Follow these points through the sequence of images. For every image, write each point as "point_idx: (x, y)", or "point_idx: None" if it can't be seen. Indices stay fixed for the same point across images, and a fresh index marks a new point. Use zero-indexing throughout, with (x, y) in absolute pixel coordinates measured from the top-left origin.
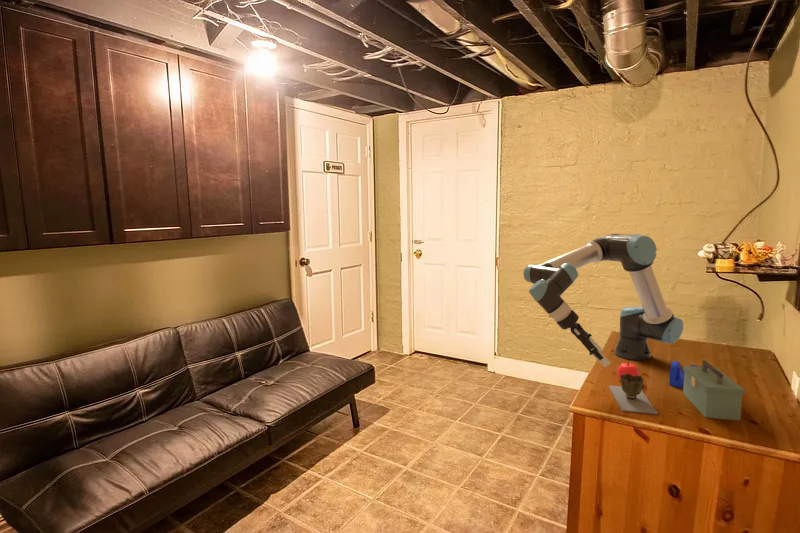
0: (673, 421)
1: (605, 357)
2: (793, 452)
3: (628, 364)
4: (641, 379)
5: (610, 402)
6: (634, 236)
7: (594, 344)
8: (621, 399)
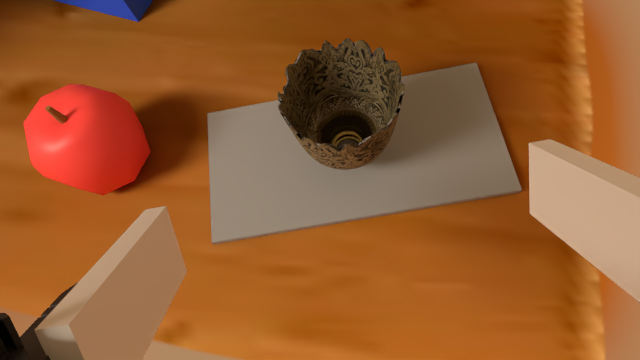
0: (515, 23)
1: (600, 164)
2: None
3: (61, 114)
4: (320, 55)
5: (430, 240)
6: None
7: (133, 286)
8: (385, 188)
